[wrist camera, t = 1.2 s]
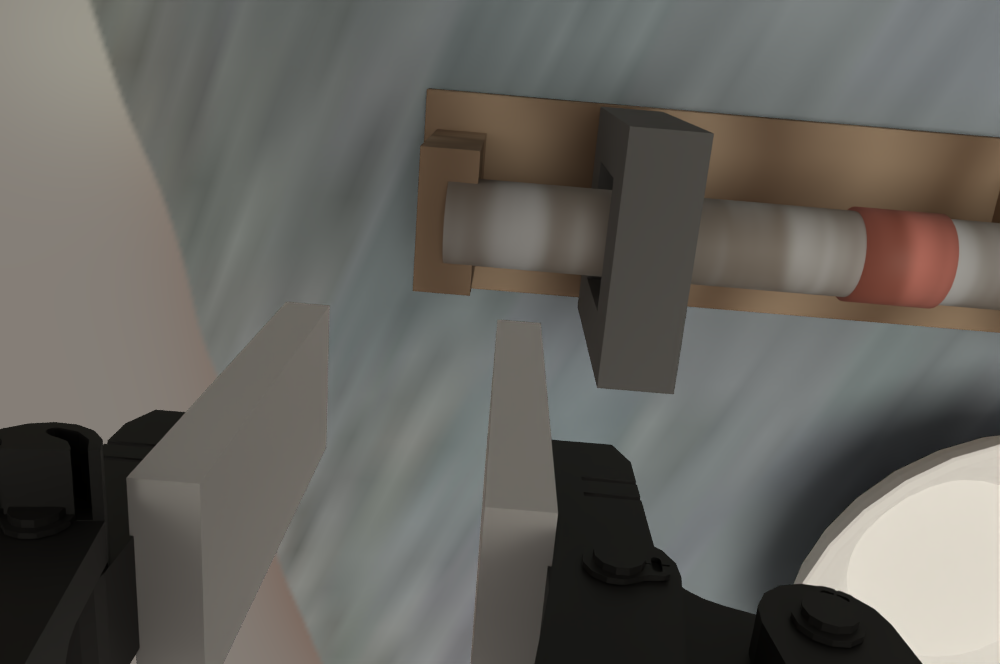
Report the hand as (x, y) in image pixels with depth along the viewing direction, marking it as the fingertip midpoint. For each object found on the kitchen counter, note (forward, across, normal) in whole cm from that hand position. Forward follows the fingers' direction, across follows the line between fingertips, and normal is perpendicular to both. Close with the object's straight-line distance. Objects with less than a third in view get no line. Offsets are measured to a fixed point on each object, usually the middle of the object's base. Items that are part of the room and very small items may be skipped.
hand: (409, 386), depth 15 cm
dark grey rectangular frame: (+20, +6, 0) cm, 21 cm away
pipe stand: (+23, +11, 0) cm, 25 cm away
